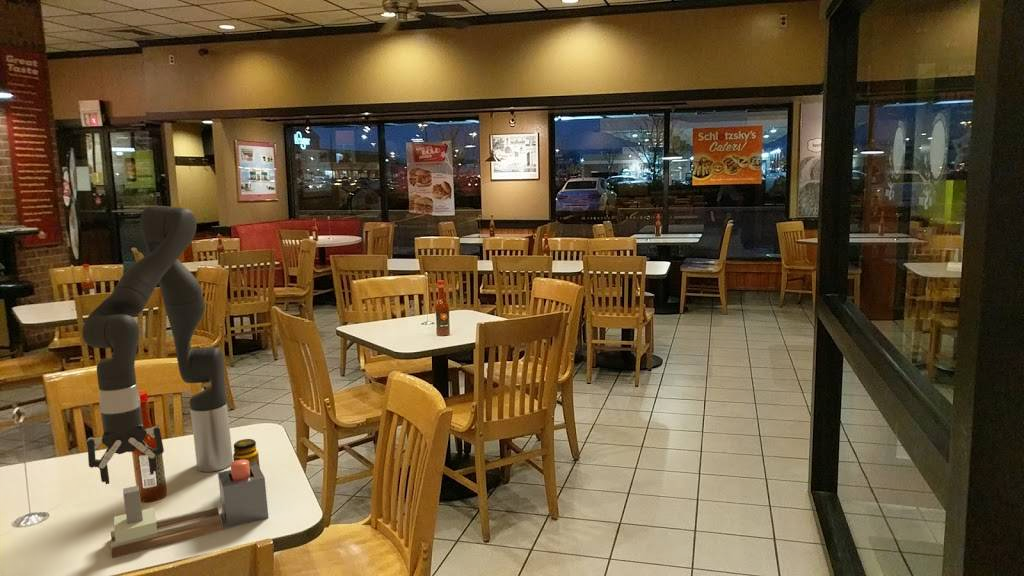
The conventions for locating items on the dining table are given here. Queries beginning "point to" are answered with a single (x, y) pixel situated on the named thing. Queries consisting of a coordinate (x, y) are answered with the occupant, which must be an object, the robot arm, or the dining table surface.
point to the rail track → (172, 531)
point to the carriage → (134, 518)
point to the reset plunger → (240, 470)
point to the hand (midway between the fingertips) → (129, 478)
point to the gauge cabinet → (243, 497)
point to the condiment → (246, 451)
